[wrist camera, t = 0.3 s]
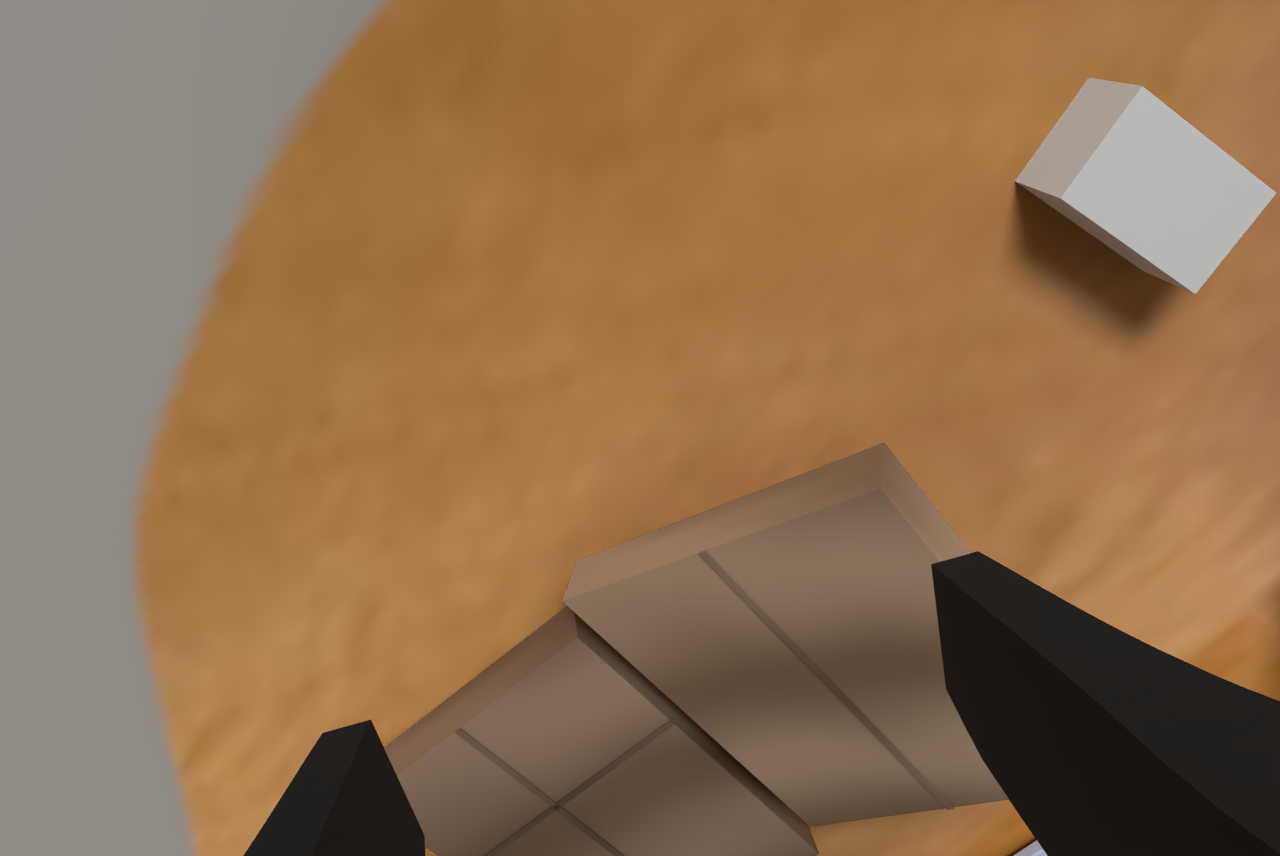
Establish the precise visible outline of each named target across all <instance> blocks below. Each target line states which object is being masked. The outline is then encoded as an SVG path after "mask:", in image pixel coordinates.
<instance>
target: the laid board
mask: <svg viewBox="0 0 1280 856" xmlns="http://www.w3.org/2000/svg"><path fill="white" fill-rule="evenodd" d="M384 749H385V751H386V754H387V756H388V758H389V760H390V762H391V764H392V766H393V769H394V771H395V773H396V775H397V777H398V779H399V781H400V784H401V786H402V788H403V790H404V792H405V794H406V797H407V799H408V801H409V803H410V805H411V807H412V809H413V812H414V814H415V816H416V818H417V820H418V822H419V824H420V827H421V829H422V831H423V833H424V835H425V847H427V848H428V849H429V850H431V851H432V852H434V853H435V854H437V855H438V856H816V855H817V854H819V852H818V850H817V847H816V844H815V842H814V839H813V836H812V834H811V831H810V828H809V826H808V824H807V823H806V822H805V821H804V820H802V819H801V818H800V817H799V816H798V815H797V814H796V813H795V812H794V811H793V810H791V809H790V808H789V807H788V806H787V805H786V804H785V803H784V802H783V801H782V800H780V799H779V798H778V797H777V796H776V795H775V794H774V793H773V792H772V791H771V790H769V789H768V788H767V787H766V786H765V785H764V784H763V783H762V782H761V781H760V780H758V779H757V778H756V777H755V776H754V775H753V774H752V773H751V772H750V771H749V770H747V769H746V768H745V767H744V766H743V765H742V764H741V763H740V762H739V761H738V760H736V759H735V758H734V757H733V756H732V755H731V754H730V753H729V752H728V751H727V750H725V749H724V748H723V747H722V746H721V745H720V744H719V743H718V742H717V741H716V740H714V739H713V738H712V737H711V736H710V735H709V734H708V733H707V732H706V731H705V730H703V729H702V728H701V727H700V726H699V725H698V724H697V723H696V722H695V721H694V720H692V719H691V718H690V717H689V716H688V715H687V714H686V713H685V712H684V711H683V710H681V709H680V708H679V707H678V706H677V705H676V704H675V703H674V702H673V701H672V700H670V699H669V698H668V697H667V696H666V695H665V694H664V693H663V692H662V691H661V690H659V689H658V688H657V687H656V686H655V685H654V684H653V683H652V682H651V681H650V680H648V679H647V678H646V677H645V676H644V675H643V674H642V673H641V672H640V671H639V670H637V669H636V668H635V667H634V666H633V665H632V664H631V663H630V662H629V661H628V660H626V659H625V658H624V657H623V656H622V655H621V654H620V653H619V652H618V651H617V650H615V649H614V648H613V647H612V646H611V645H610V644H609V643H608V642H607V641H606V640H604V639H603V638H602V637H601V636H600V635H599V634H598V633H597V632H596V631H595V630H593V629H592V628H591V627H590V626H589V625H588V624H587V623H586V622H585V621H584V620H582V619H581V618H580V617H579V616H578V615H577V614H576V613H575V612H574V611H573V610H571V609H570V608H569V607H568V606H567V607H566V608H564V609H563V610H562V611H561V612H559V613H558V614H557V615H555V616H554V617H553V618H552V619H550V620H549V621H548V622H546V623H545V624H544V625H543V626H541V627H540V628H539V629H537V630H536V631H535V632H533V633H532V634H531V635H530V636H528V637H527V638H526V639H524V640H523V641H522V642H521V643H519V644H518V645H517V646H515V647H514V648H513V649H512V650H510V651H509V652H508V653H506V654H505V655H504V656H502V657H501V658H500V659H499V660H497V661H496V662H495V663H493V664H492V665H491V666H490V667H488V668H487V669H486V670H484V671H483V672H482V673H481V674H479V675H478V676H477V677H475V678H474V679H473V680H471V681H470V682H469V683H468V684H466V685H465V686H464V687H462V688H461V689H460V690H459V691H457V692H456V693H455V694H453V695H452V696H451V697H449V698H448V699H447V700H446V701H444V702H443V703H442V704H440V705H439V706H438V707H437V708H435V709H434V710H433V711H431V712H430V713H429V714H428V715H426V716H425V717H424V718H422V719H421V720H420V721H418V722H417V723H416V724H415V725H413V726H412V727H411V728H409V729H408V730H407V731H406V732H404V733H403V734H402V735H400V736H399V737H398V738H397V739H395V740H394V741H393V742H391V743H390V744H389V745H387V746H386V747H385V748H384Z"/></svg>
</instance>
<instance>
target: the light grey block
mask: <svg viewBox="0 0 1280 856" xmlns="http://www.w3.org/2000/svg"><path fill="white" fill-rule="evenodd" d="M1015 182H1017V183H1018V184H1019V185H1021V186H1022V187H1024V188H1025V189H1027V190H1028V191H1029V192H1031V193H1032V194H1034V195H1035V196H1037V197H1038V198H1039V199H1041V200H1042V201H1044V202H1045V203H1047V204H1048V205H1049V206H1051V207H1052V208H1054V209H1055V210H1057V211H1058V212H1059V213H1061V214H1062V215H1064V216H1065V217H1067V218H1068V219H1069V220H1071V221H1072V222H1074V223H1075V224H1076V225H1078V226H1079V227H1081V228H1082V229H1084V230H1085V231H1086V232H1088V233H1089V234H1091V235H1092V236H1094V237H1095V238H1096V239H1098V240H1099V241H1101V242H1102V243H1104V244H1105V245H1106V246H1108V247H1109V248H1111V249H1112V250H1114V251H1115V252H1116V253H1118V254H1119V255H1121V256H1122V257H1124V258H1125V259H1126V260H1128V261H1129V262H1131V263H1132V264H1133V265H1135V266H1136V267H1138V268H1139V269H1141V270H1142V271H1144V272H1146V273H1148V274H1151V275H1153V276H1155V277H1157V278H1160V279H1162V280H1164V281H1167V282H1169V283H1171V284H1173V285H1176V286H1178V287H1180V288H1183V289H1185V290H1187V291H1189V292H1192V293H1194V294H1196V293H1197V292H1198V290H1199V289H1200V288H1201V287H1202V285H1203V284H1204V283H1205V282H1206V280H1207V279H1208V278H1209V277H1210V275H1211V274H1212V273H1213V272H1214V270H1215V269H1216V268H1217V267H1218V265H1219V264H1220V263H1221V262H1222V260H1223V259H1224V258H1225V257H1226V255H1227V254H1228V253H1229V252H1230V250H1231V249H1232V248H1233V247H1234V245H1235V244H1236V243H1237V242H1238V240H1239V239H1240V238H1241V237H1242V235H1243V234H1244V233H1245V232H1246V230H1247V229H1248V228H1249V227H1250V225H1251V224H1252V223H1253V222H1254V220H1255V219H1256V218H1257V217H1258V215H1259V214H1260V213H1261V212H1262V210H1263V209H1264V208H1265V207H1266V205H1267V204H1268V203H1269V202H1270V200H1271V199H1272V198H1273V197H1274V195H1275V194H1276V192H1275V191H1273V190H1272V189H1271V188H1270V187H1268V186H1267V185H1266V184H1265V183H1263V182H1262V181H1261V180H1260V179H1258V178H1257V177H1256V176H1255V175H1253V174H1252V173H1251V172H1250V171H1248V170H1247V169H1246V168H1244V167H1243V166H1242V165H1241V164H1239V163H1238V162H1237V161H1236V160H1234V159H1233V158H1232V157H1231V156H1229V155H1228V154H1227V153H1226V152H1224V151H1223V150H1222V149H1221V148H1219V147H1218V146H1217V145H1216V144H1214V143H1213V142H1212V141H1211V140H1209V139H1208V138H1207V137H1206V136H1204V135H1203V134H1202V133H1200V132H1199V131H1198V130H1197V129H1195V128H1194V127H1193V126H1192V125H1190V124H1189V123H1188V122H1187V121H1185V120H1184V119H1183V118H1182V117H1180V116H1179V115H1178V114H1177V113H1175V112H1174V111H1173V110H1172V109H1170V108H1169V107H1168V106H1167V105H1165V104H1164V103H1163V102H1162V101H1160V100H1159V99H1158V98H1156V97H1155V96H1154V95H1153V94H1151V93H1150V92H1149V91H1148V90H1146V89H1145V88H1144V87H1143V86H1138V85H1131V84H1125V83H1119V82H1112V81H1106V80H1100V79H1093V78H1088V80H1087V81H1086V82H1085V84H1084V85H1083V87H1082V88H1081V89H1080V91H1079V92H1078V94H1077V95H1076V96H1075V98H1074V99H1073V101H1072V102H1071V103H1070V105H1069V106H1068V108H1067V109H1066V110H1065V112H1064V113H1063V115H1062V116H1061V117H1060V119H1059V120H1058V122H1057V123H1056V124H1055V126H1054V127H1053V129H1052V130H1051V131H1050V133H1049V134H1048V136H1047V137H1046V138H1045V140H1044V141H1043V143H1042V144H1041V145H1040V147H1039V148H1038V150H1037V151H1036V152H1035V154H1034V155H1033V157H1032V158H1031V159H1030V161H1029V162H1028V164H1027V165H1026V166H1025V168H1024V169H1023V171H1022V172H1021V173H1020V175H1019V176H1018V178H1017V179H1016V180H1015Z"/></svg>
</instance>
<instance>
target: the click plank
mask: <svg viewBox="0 0 1280 856" xmlns="http://www.w3.org/2000/svg"><path fill="white" fill-rule="evenodd" d="M970 553H971V552H970V551H969V549H968V548H967V547H966V546H965V544H964V543H963V542H962V541H961V539H960V538H959V537H958V535H957V534H956V533H955V532H954V530H953V529H952V528H951V527H950V525H949V524H948V523H947V521H946V520H945V519H944V518H943V516H942V515H941V514H940V513H939V511H938V510H937V509H936V508H935V506H934V505H933V504H932V502H931V501H930V500H929V499H928V497H927V496H926V495H925V494H924V492H923V491H922V490H921V488H920V487H919V486H918V485H917V483H916V482H915V481H914V480H913V478H912V477H911V476H910V474H909V473H908V472H907V471H906V469H905V468H904V467H903V466H902V464H901V463H900V462H899V461H898V459H897V458H896V457H895V455H894V454H893V453H892V452H891V450H890V449H889V448H888V447H887V445H886V444H885V443H882V444H879V445H877V446H874V447H871V448H869V449H866V450H864V451H861V452H858V453H856V454H853V455H851V456H848V457H845V458H843V459H840V460H838V461H835V462H832V463H830V464H827V465H825V466H822V467H819V468H817V469H814V470H812V471H809V472H806V473H804V474H801V475H798V476H796V477H793V478H791V479H788V480H785V481H783V482H780V483H778V484H775V485H772V486H770V487H767V488H765V489H762V490H759V491H757V492H754V493H752V494H749V495H746V496H744V497H741V498H739V499H736V500H733V501H731V502H728V503H725V504H723V505H720V506H718V507H715V508H712V509H710V510H707V511H705V512H702V513H699V514H697V515H694V516H692V517H689V518H686V519H684V520H681V521H679V522H676V523H673V524H671V525H668V526H666V527H663V528H660V529H658V530H655V531H652V532H650V533H647V534H645V535H642V536H639V537H637V538H634V539H632V540H629V541H626V542H624V543H621V544H619V545H616V546H613V547H611V548H608V549H606V550H603V551H600V552H598V553H595V554H593V555H590V556H587V557H585V558H582V559H580V560H577V563H576V565H575V568H574V571H573V573H572V576H571V579H570V581H569V584H568V587H567V589H566V592H565V595H564V597H563V600H562V601H563V602H564V603H565V604H566V605H567V606H568V607H569V608H570V609H571V610H573V611H574V612H575V613H576V614H577V615H578V616H579V617H580V618H581V619H582V620H584V621H585V622H586V623H587V624H588V625H589V626H590V627H591V628H592V629H593V630H595V631H596V632H597V633H598V634H599V635H600V636H601V637H602V638H603V639H604V640H606V641H607V642H608V643H609V644H610V645H611V646H612V647H613V648H614V649H615V650H617V651H618V652H619V653H620V654H621V655H622V656H623V657H624V658H625V659H626V660H628V661H629V662H630V663H631V664H632V665H633V666H634V667H635V668H636V669H637V670H639V671H640V672H641V673H642V674H643V675H644V676H645V677H646V678H647V679H648V680H650V681H651V682H652V683H653V684H654V685H655V686H656V687H657V688H658V689H659V690H661V691H662V692H663V693H664V694H665V695H666V696H667V697H668V698H669V699H670V700H672V701H673V702H674V703H675V704H676V705H677V706H678V707H679V708H680V709H681V710H683V711H684V712H685V713H686V714H687V715H688V716H689V717H690V718H691V719H692V720H694V721H695V722H696V723H697V724H698V725H699V726H700V727H701V728H702V729H703V730H705V731H706V732H707V733H708V734H709V735H710V736H711V737H712V738H713V739H714V740H716V741H717V742H718V743H719V744H720V745H721V746H722V747H723V748H724V749H725V750H727V751H728V752H729V753H730V754H731V755H732V756H733V757H734V758H735V759H736V760H738V761H739V762H740V763H741V764H742V765H743V766H744V767H745V768H746V769H747V770H749V771H750V772H751V773H752V774H753V775H754V776H755V777H756V778H757V779H758V780H760V781H761V782H762V783H763V784H764V785H765V786H766V787H767V788H768V789H769V790H771V791H772V792H773V793H774V794H775V795H776V796H777V797H778V798H779V799H780V800H782V801H783V802H784V803H785V804H786V805H787V806H788V807H789V808H790V809H791V810H793V811H794V812H795V813H796V814H797V815H798V816H799V817H800V818H801V819H802V820H804V821H805V822H806V823H807V824H808V825H809V826H810V827H811V826H819V825H826V824H833V823H840V822H848V821H855V820H862V819H870V818H877V817H884V816H892V815H899V814H906V813H914V812H921V811H928V810H936V809H943V808H946V809H947V810H950V809H954V807H958V806H965V805H972V804H979V803H987V802H994V801H1001V800H1009V799H1008V797H1007V796H1006V794H1005V793H1004V791H1003V790H1002V788H1001V787H1000V785H999V784H998V782H997V781H996V779H995V778H994V776H993V775H992V773H991V772H990V770H989V769H988V767H987V766H986V764H985V763H984V761H983V760H982V758H981V756H980V754H979V752H978V750H977V749H976V747H975V745H974V743H973V741H972V739H971V737H970V735H969V733H968V732H967V730H966V728H965V726H964V724H963V722H962V720H961V718H960V716H959V714H958V712H957V710H956V708H955V706H954V704H953V702H952V700H951V698H950V696H949V694H948V692H947V690H946V685H945V677H944V668H943V660H942V652H941V643H940V635H939V627H938V618H937V610H936V602H935V593H934V585H933V576H932V568H931V564H934V563H938V562H941V561H945V560H948V559H952V558H956V557H959V556H963V555H966V554H970Z"/></svg>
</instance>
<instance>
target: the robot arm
mask: <svg viewBox="0 0 1280 856" xmlns="http://www.w3.org/2000/svg"><path fill="white" fill-rule="evenodd" d="M931 568H932V576H933V585H934V593H935V602H936V610H937V618H938V627H939V635H940V643H941V652H942V660H943V668H944V677H945V685H946V690H947V692H948V694H949V696H950V698H951V700H952V702H953V704H954V706H955V708H956V710H957V712H958V714H959V716H960V718H961V720H962V722H963V724H964V726H965V728H966V730H967V732H968V733H969V735H970V737H971V739H972V741H973V743H974V745H975V747H976V749H977V750H978V752H979V754H980V756H981V758H982V760H983V761H984V763H985V764H986V766H987V767H988V769H989V770H990V772H991V773H992V775H993V776H994V778H995V779H996V781H997V782H998V784H999V785H1000V787H1001V788H1002V790H1003V791H1004V793H1005V794H1006V796H1007V797H1008V799H1009V800H1010V802H1011V803H1012V804H1013V806H1014V807H1015V809H1016V810H1017V812H1018V813H1019V815H1020V816H1021V818H1022V819H1023V821H1024V822H1025V824H1026V825H1027V826H1028V828H1029V829H1030V831H1031V832H1032V834H1033V835H1034V837H1035V838H1036V841H1034V842H1033V843H1031V844H1030V845H1028V846H1027V847H1025V848H1024V849H1022V850H1021V851H1019V852H1018V853H1016V854H1014V855H1013V856H1280V701H1277V700H1275V699H1272V698H1269V697H1267V696H1264V695H1262V694H1259V693H1257V692H1254V691H1251V690H1249V689H1246V688H1244V687H1241V686H1239V685H1236V684H1234V683H1232V682H1229V681H1227V680H1224V679H1222V678H1220V677H1217V676H1215V675H1213V674H1210V673H1208V672H1206V671H1204V670H1202V669H1200V668H1197V667H1195V666H1193V665H1191V664H1189V663H1187V662H1184V661H1182V660H1180V659H1178V658H1176V657H1174V656H1171V655H1169V654H1167V653H1165V652H1163V651H1161V650H1158V649H1156V648H1154V647H1152V646H1150V645H1148V644H1146V643H1144V642H1142V641H1140V640H1138V639H1136V638H1134V637H1132V636H1130V635H1128V634H1126V633H1124V632H1122V631H1120V630H1119V629H1117V628H1115V627H1113V626H1111V625H1109V624H1107V623H1105V622H1103V621H1101V620H1099V619H1098V618H1096V617H1094V616H1092V615H1090V614H1088V613H1086V612H1085V611H1083V610H1081V609H1079V608H1077V607H1075V606H1074V605H1072V604H1070V603H1068V602H1066V601H1065V600H1063V599H1061V598H1059V597H1057V596H1056V595H1054V594H1052V593H1050V592H1049V591H1047V590H1045V589H1043V588H1041V587H1040V586H1038V585H1036V584H1034V583H1033V582H1031V581H1029V580H1027V579H1026V578H1024V577H1022V576H1021V575H1019V574H1017V573H1015V572H1014V571H1012V570H1010V569H1008V568H1007V567H1005V566H1003V565H1001V564H1000V563H998V562H996V561H994V560H993V559H991V558H989V557H987V556H986V555H984V554H982V553H980V552H978V551H977V552H974V553H970V554H966V555H963V556H959V557H956V558H952V559H948V560H945V561H941V562H938V563H934V564H931ZM244 856H425V835H424V833H423V831H422V829H421V827H420V824H419V822H418V820H417V818H416V816H415V814H414V812H413V809H412V807H411V805H410V803H409V801H408V799H407V797H406V794H405V792H404V790H403V788H402V786H401V784H400V781H399V779H398V777H397V775H396V773H395V771H394V769H393V766H392V764H391V762H390V760H389V758H388V756H387V754H386V751H385V749H384V747H383V745H382V743H381V741H380V739H379V736H378V734H377V732H376V730H375V728H374V726H373V723H372V721H371V720H368V721H364V722H361V723H357V724H354V725H350V726H346V727H343V728H339V729H336V730H332V731H328V732H325V733H323V734H322V735H321V737H320V738H319V740H318V741H317V743H316V744H315V746H314V747H313V749H312V750H311V752H310V753H309V755H308V756H307V758H306V759H305V761H304V763H303V764H302V766H301V767H300V769H299V771H298V772H297V774H296V775H295V777H294V778H293V780H292V782H291V783H290V785H289V786H288V788H287V789H286V791H285V793H284V794H283V796H282V797H281V799H280V801H279V802H278V804H277V805H276V807H275V808H274V810H273V811H272V813H271V815H270V816H269V818H268V819H267V821H266V822H265V824H264V826H263V827H262V829H261V830H260V832H259V833H258V835H257V836H256V838H255V839H254V841H253V842H252V844H251V845H250V847H249V848H248V850H247V851H246V853H245V854H244Z"/></svg>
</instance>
